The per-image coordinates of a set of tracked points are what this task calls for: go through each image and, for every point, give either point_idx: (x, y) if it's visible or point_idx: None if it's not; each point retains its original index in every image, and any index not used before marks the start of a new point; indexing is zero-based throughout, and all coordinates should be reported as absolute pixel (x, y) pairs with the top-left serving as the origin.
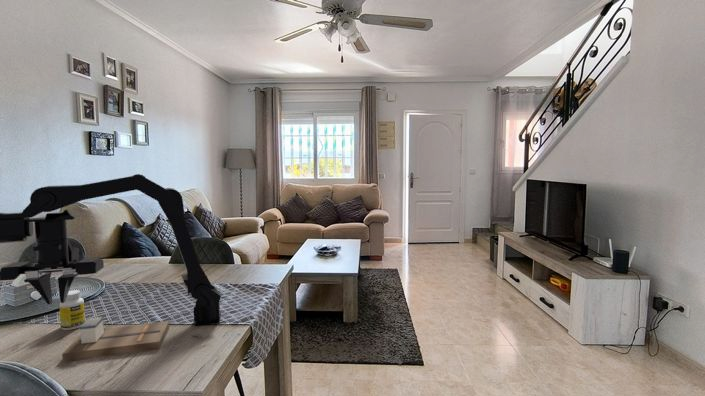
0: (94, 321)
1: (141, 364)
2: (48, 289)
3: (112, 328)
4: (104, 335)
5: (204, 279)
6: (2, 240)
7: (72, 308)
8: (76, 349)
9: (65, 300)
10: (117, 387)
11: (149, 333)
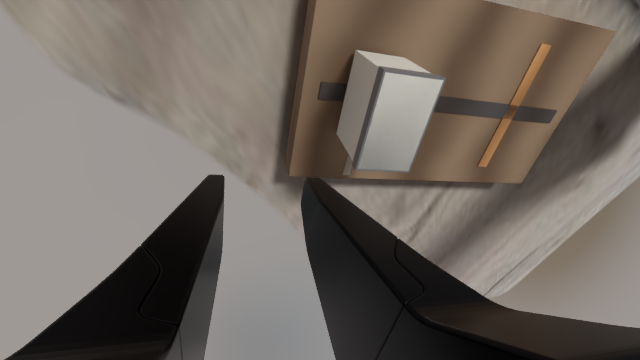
0: (407, 129)
1: (453, 223)
2: (204, 294)
3: (436, 5)
4: None
5: None
6: None
7: None
8: (325, 161)
9: (323, 182)
10: None
11: (523, 121)
